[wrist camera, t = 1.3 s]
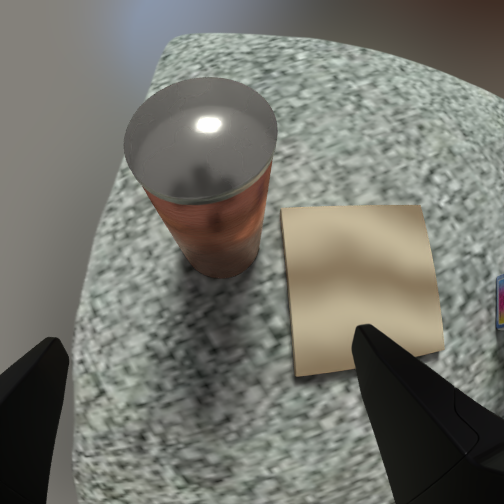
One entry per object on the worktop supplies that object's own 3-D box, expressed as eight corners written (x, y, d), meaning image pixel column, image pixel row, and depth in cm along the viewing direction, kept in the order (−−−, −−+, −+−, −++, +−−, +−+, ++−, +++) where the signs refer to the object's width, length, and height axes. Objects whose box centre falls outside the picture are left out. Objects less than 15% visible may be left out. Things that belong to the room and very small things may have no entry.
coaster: (439, 349, 21) (444, 349, 20) (294, 375, 21) (296, 376, 20) (416, 208, 24) (420, 205, 24) (280, 212, 24) (281, 208, 23)
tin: (263, 276, 23) (286, 192, 10) (183, 281, 22) (114, 204, 10) (257, 203, 24) (269, 74, 12) (183, 208, 24) (135, 86, 11)
